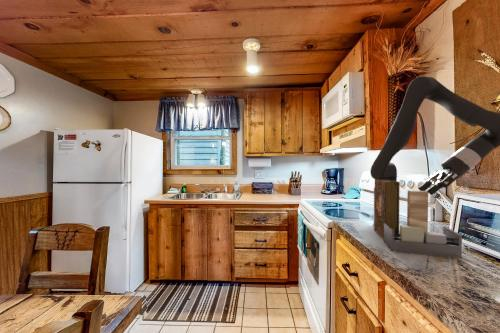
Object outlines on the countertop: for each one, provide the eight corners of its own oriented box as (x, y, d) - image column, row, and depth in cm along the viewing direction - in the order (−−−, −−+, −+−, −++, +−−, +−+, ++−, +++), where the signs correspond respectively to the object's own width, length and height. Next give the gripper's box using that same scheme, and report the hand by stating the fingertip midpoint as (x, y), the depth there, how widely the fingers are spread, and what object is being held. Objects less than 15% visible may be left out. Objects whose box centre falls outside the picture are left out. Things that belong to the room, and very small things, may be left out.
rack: (384, 241, 102) (384, 222, 101) (445, 247, 95) (445, 226, 95) (391, 251, 91) (391, 230, 90) (461, 258, 84) (461, 235, 84)
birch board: (406, 245, 98) (407, 190, 97) (424, 246, 96) (425, 190, 95) (409, 247, 95) (410, 191, 94) (427, 249, 93) (428, 191, 93)
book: (373, 229, 120) (373, 178, 119) (385, 230, 119) (386, 179, 118) (384, 240, 104) (385, 181, 103) (398, 241, 102) (399, 181, 102)
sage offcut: (399, 248, 94) (399, 225, 93) (420, 250, 92) (421, 226, 91) (401, 251, 91) (402, 227, 91) (423, 253, 89) (423, 228, 89)
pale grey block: (423, 251, 91) (424, 232, 91) (442, 252, 90) (443, 233, 89) (426, 253, 89) (426, 234, 89) (446, 255, 87) (446, 235, 87)
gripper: (443, 155, 98) (410, 183, 102) (462, 154, 85) (424, 186, 88) (458, 168, 97) (424, 196, 100) (481, 170, 83) (441, 201, 87)
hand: (424, 191), depth 94 cm, fingers open, 8 cm apart
